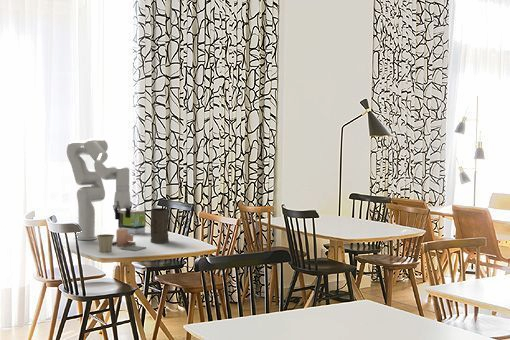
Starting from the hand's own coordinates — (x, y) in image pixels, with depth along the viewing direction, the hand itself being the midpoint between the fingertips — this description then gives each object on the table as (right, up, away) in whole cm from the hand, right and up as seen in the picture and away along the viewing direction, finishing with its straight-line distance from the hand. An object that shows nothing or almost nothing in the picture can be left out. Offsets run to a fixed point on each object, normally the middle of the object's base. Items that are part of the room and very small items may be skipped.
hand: (122, 218), depth 365 cm
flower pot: (-6, -17, -18) cm, 25 cm away
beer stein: (+19, -15, +16) cm, 30 cm away
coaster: (+8, -16, -9) cm, 20 cm away
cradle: (-1, -16, +1) cm, 16 cm away
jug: (+1, -16, 0) cm, 16 cm away
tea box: (-4, -13, +49) cm, 51 cm away
